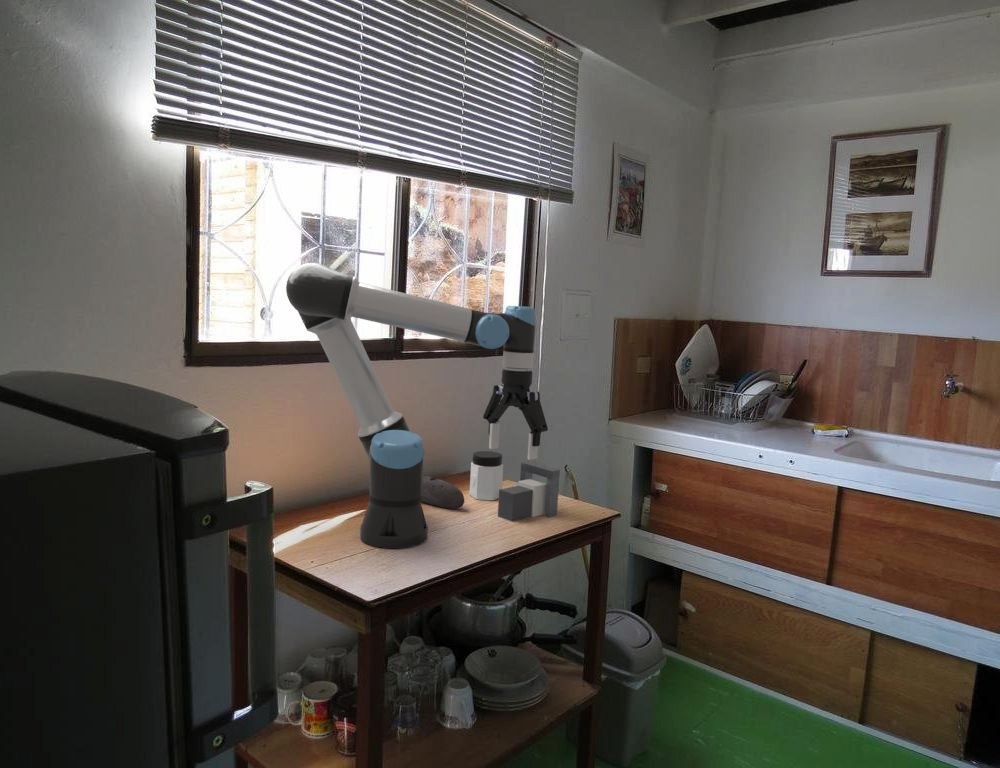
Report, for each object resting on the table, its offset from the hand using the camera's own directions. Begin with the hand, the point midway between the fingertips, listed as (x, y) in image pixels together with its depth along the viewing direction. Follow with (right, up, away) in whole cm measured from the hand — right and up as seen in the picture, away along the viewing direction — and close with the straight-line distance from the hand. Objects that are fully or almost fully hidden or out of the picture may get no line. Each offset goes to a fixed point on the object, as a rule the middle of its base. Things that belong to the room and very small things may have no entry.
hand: (512, 453), depth 177 cm
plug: (+3, -16, +5) cm, 17 cm away
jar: (-7, -14, +20) cm, 25 cm away
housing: (+7, -16, +9) cm, 20 cm away
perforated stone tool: (-19, -15, +9) cm, 25 cm away
